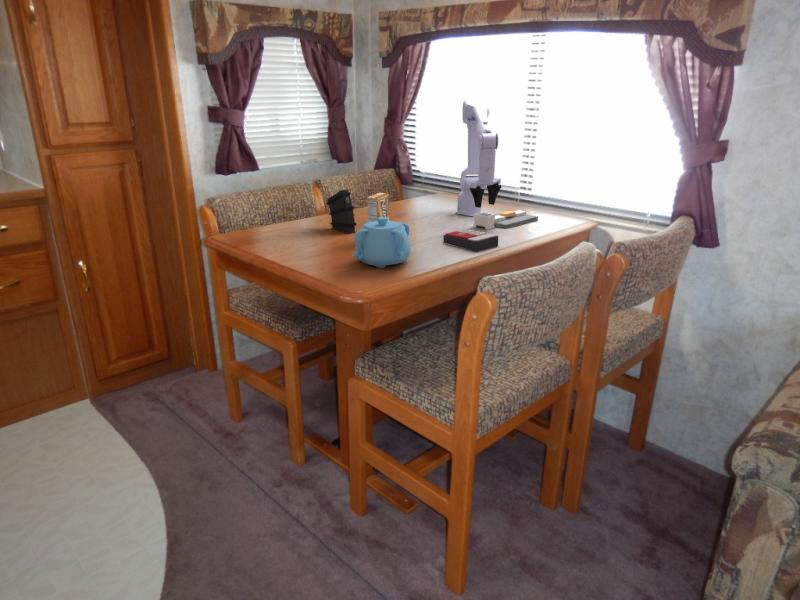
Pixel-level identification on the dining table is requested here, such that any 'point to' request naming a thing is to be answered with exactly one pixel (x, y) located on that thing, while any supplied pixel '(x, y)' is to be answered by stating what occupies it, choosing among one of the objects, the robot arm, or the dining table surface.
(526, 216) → the rail board
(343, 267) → the dining table surface
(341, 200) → the black ribbed block
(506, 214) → the block
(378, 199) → the candy box
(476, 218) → the block
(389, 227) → the decorative pot
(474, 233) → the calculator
